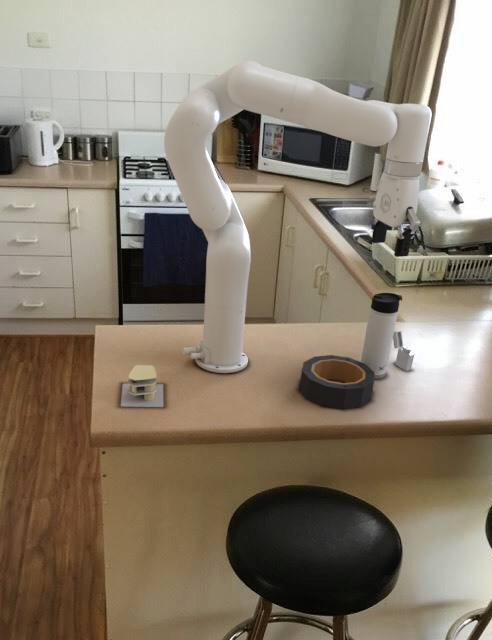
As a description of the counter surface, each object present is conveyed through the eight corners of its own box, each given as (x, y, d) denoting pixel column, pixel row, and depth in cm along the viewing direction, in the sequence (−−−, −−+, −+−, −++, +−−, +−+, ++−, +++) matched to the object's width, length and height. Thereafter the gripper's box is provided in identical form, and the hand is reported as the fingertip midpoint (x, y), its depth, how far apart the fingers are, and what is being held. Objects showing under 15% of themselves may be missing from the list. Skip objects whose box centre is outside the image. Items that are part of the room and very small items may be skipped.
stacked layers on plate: (122, 383, 155) (122, 361, 152) (163, 384, 155) (163, 362, 153) (120, 406, 146) (120, 383, 143) (163, 407, 147) (163, 384, 144)
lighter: (411, 370, 169) (418, 340, 166) (406, 371, 169) (412, 341, 165) (392, 357, 175) (398, 328, 171) (386, 359, 174) (392, 329, 170)
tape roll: (318, 412, 149) (321, 391, 146) (289, 377, 162) (291, 358, 160) (383, 404, 154) (387, 384, 151) (350, 371, 167) (353, 352, 164)
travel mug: (386, 381, 163) (403, 301, 154) (358, 377, 164) (372, 297, 155) (386, 369, 169) (402, 291, 159) (359, 365, 170) (373, 288, 160)
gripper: (366, 160, 150) (355, 238, 159) (409, 178, 136) (394, 262, 144) (396, 160, 152) (384, 236, 161) (442, 177, 138) (425, 260, 147)
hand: (389, 249), depth 153 cm, fingers open, 9 cm apart
